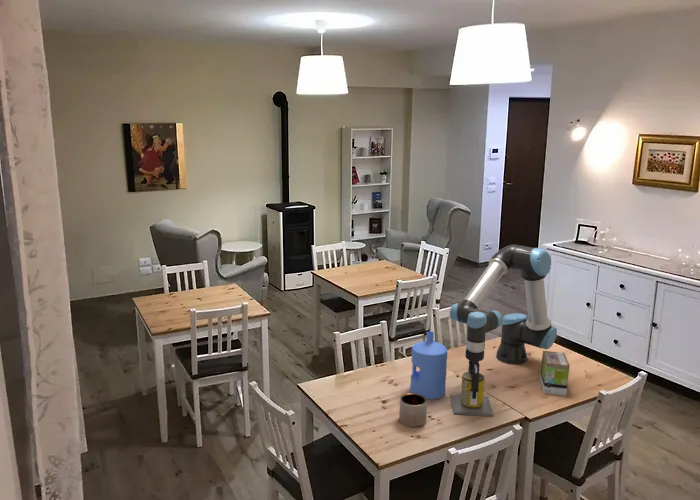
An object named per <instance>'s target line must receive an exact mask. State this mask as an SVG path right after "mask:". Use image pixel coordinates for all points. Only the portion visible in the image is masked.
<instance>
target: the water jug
mask: <svg viewBox="0 0 700 500" xmlns="http://www.w3.org/2000/svg"><path fill="white" fill-rule="evenodd" d="M425 337H426V340H424V341H420V342H417V343H415V344H413V345H412V346H411V364H412V367H411V368H412V370H411V375H410V385H409V387H410V388H409V390H410V391H409V392H410V393H416V394H420V395H423V396H424V397H426V399H427V400H437V399H440V398H442V397H443V396H445V394H446V388H447V387H446V384H447V383H446V381H447V363H448V349H447V347H446V346H445V345H444V344H443V343H439V342H437V341H435V339H434V337H435V336H434V331H427V332H426V336H425ZM417 368H418V369H419V370H417Z"/></svg>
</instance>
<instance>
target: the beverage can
mask: <svg viewBox="0 0 700 500" xmlns="http://www.w3.org/2000/svg"><path fill="white" fill-rule="evenodd" d="M461 377H462V378H461V379H462V381H461V394H460V395H461V403H462V404H463V405H465V406H467V407H471V408H477V407H480V406H482V404H483V396H484V390H485V389H484V387H485V376H484V375H483V374H482V373H480V372H479V388H478V390H479V391H478V393H477V405H470V394H471V391H470V390H471V384H472V380H471V374H470V372H468V371H466V372H464V373H462V375H461Z"/></svg>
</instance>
